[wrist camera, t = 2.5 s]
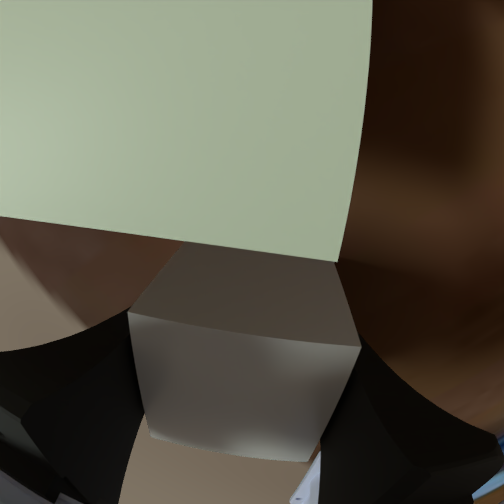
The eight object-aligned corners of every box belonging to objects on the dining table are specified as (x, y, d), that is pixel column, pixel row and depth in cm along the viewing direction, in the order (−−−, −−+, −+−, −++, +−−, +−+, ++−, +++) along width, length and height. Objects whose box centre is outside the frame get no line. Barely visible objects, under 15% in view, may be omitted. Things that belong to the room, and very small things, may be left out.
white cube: (303, 362, 12) (307, 461, 8) (188, 345, 13) (150, 436, 8) (330, 255, 11) (361, 346, 6) (189, 235, 11) (127, 311, 6)
